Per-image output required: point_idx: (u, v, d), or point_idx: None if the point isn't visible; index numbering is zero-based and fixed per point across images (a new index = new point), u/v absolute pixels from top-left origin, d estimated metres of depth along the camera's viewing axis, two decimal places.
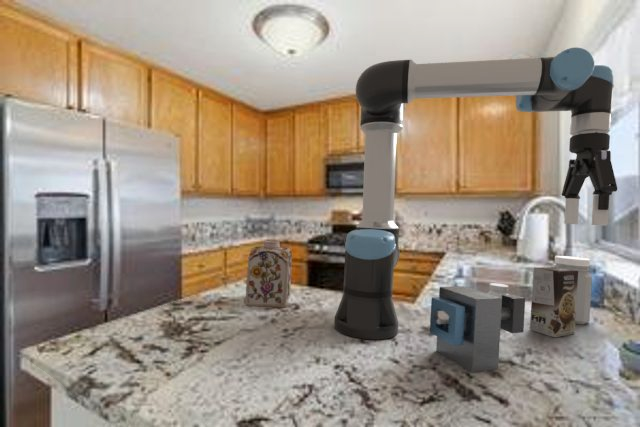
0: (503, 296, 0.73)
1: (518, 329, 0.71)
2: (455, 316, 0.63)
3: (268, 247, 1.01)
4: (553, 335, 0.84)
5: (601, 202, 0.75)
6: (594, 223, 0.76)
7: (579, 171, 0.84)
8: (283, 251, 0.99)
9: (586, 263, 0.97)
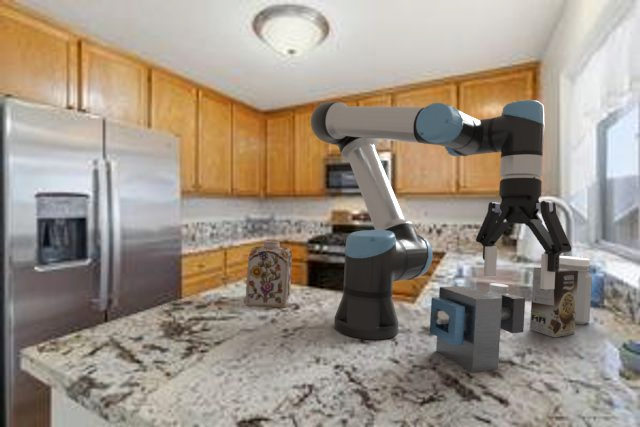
0: (503, 296, 0.73)
1: (518, 329, 0.71)
2: (455, 316, 0.63)
3: (268, 247, 1.01)
4: (553, 335, 0.84)
5: (553, 263, 0.64)
6: (544, 287, 0.65)
7: (509, 219, 0.73)
8: (283, 251, 0.99)
9: (586, 263, 0.97)
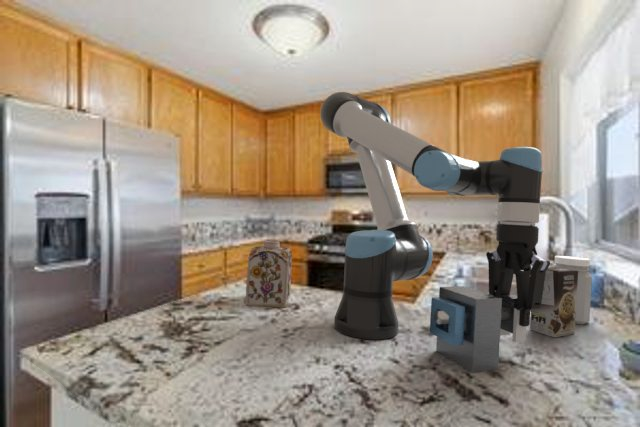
0: (503, 296, 0.73)
1: None
2: (455, 316, 0.63)
3: (268, 247, 1.01)
4: (553, 335, 0.84)
5: (524, 318, 0.69)
6: (516, 340, 0.70)
7: (506, 264, 0.73)
8: (283, 251, 0.99)
9: (586, 263, 0.97)
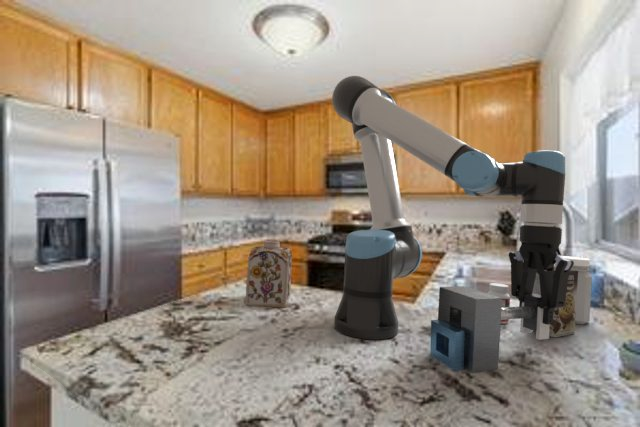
0: (526, 295, 0.75)
1: None
2: (455, 341, 0.63)
3: (268, 247, 1.01)
4: (553, 335, 0.84)
5: (547, 317, 0.71)
6: (540, 338, 0.72)
7: None
8: (283, 251, 0.99)
9: (586, 263, 0.97)
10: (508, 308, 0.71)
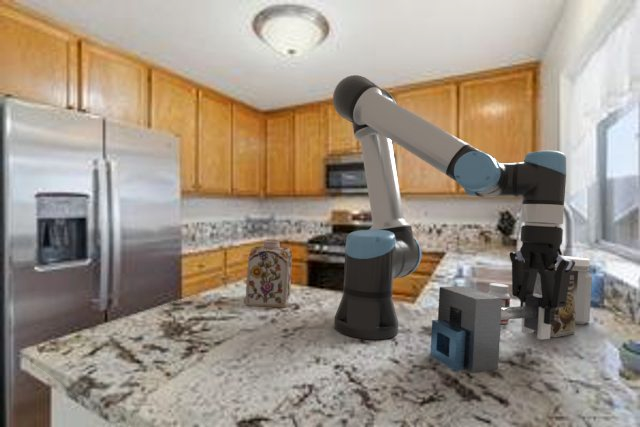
0: (527, 295, 0.75)
1: None
2: (456, 341, 0.63)
3: (268, 247, 1.01)
4: (553, 335, 0.84)
5: (549, 316, 0.71)
6: (541, 337, 0.72)
7: None
8: (283, 251, 0.99)
9: (586, 263, 0.97)
10: (509, 308, 0.71)
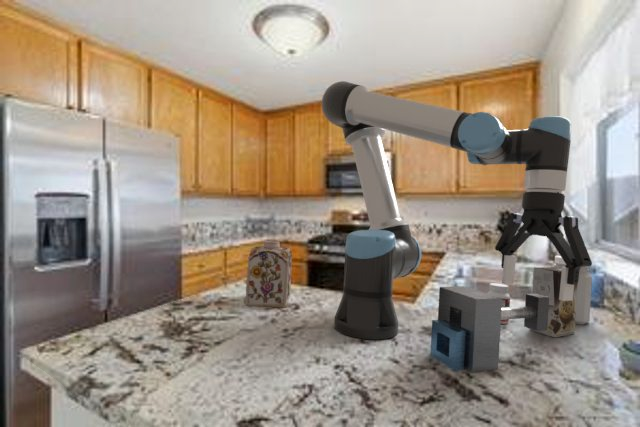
0: (527, 295, 0.75)
1: (543, 327, 0.73)
2: (456, 341, 0.63)
3: (268, 247, 1.01)
4: (553, 335, 0.84)
5: (573, 276, 0.67)
6: (563, 299, 0.68)
7: (530, 231, 0.75)
8: (283, 251, 0.99)
9: None
10: (509, 308, 0.71)
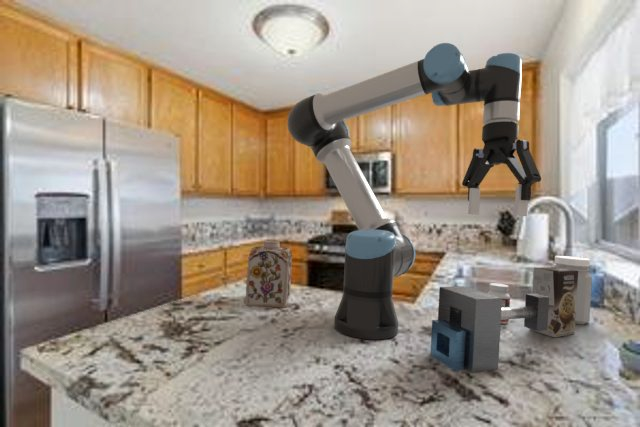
0: (527, 295, 0.75)
1: (543, 327, 0.73)
2: (456, 341, 0.63)
3: (268, 247, 1.01)
4: (553, 335, 0.84)
5: (525, 192, 0.74)
6: (518, 214, 0.75)
7: (490, 160, 0.82)
8: (283, 251, 0.99)
9: (586, 263, 0.97)
10: (509, 308, 0.71)
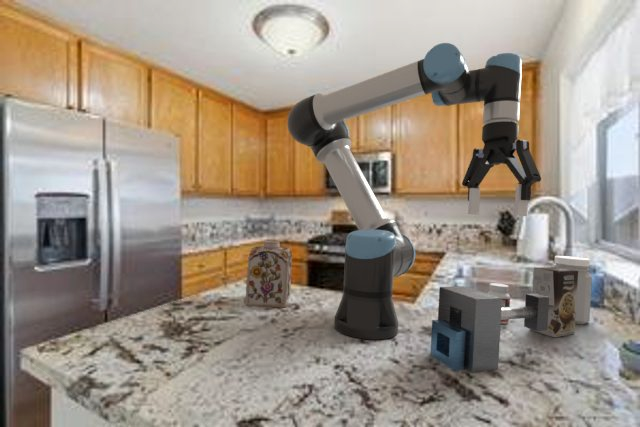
0: (527, 295, 0.75)
1: (543, 327, 0.73)
2: (456, 341, 0.63)
3: (268, 247, 1.01)
4: (553, 335, 0.84)
5: (525, 192, 0.74)
6: (518, 214, 0.75)
7: (490, 160, 0.83)
8: (283, 251, 0.99)
9: (586, 263, 0.97)
10: (509, 308, 0.71)
